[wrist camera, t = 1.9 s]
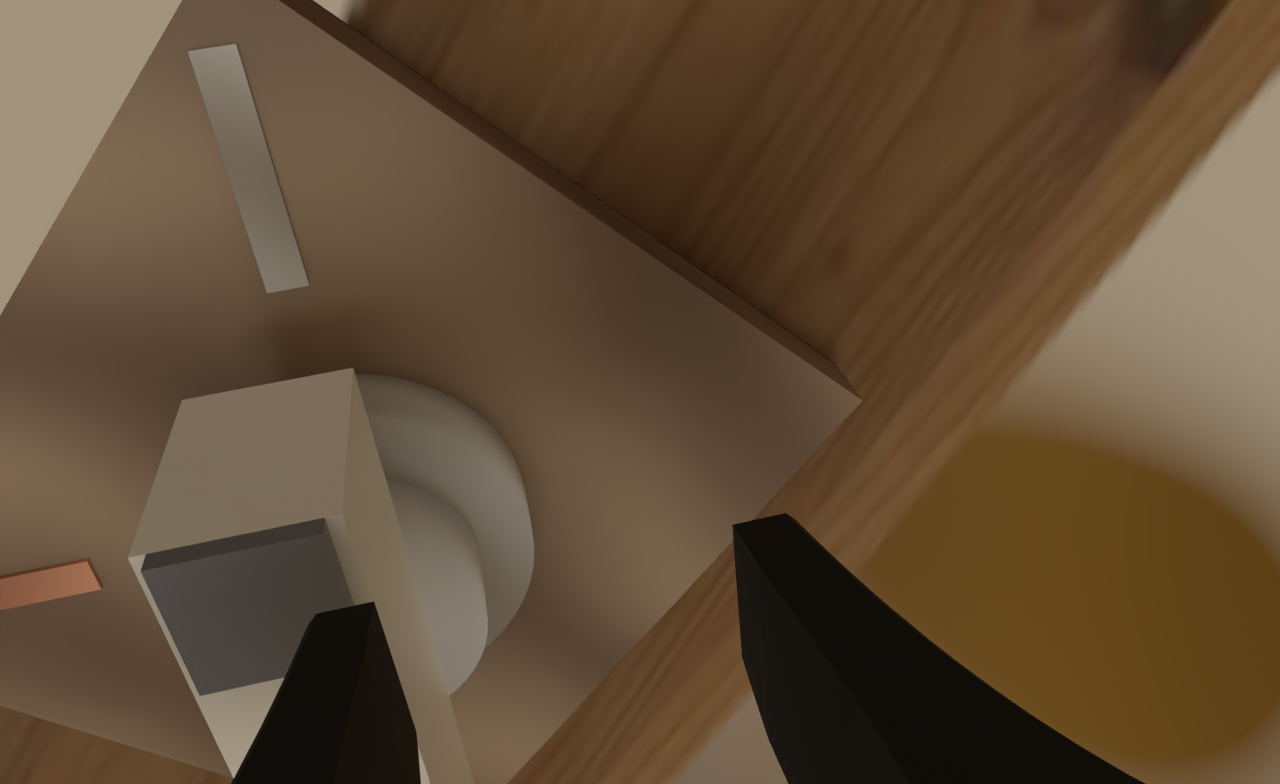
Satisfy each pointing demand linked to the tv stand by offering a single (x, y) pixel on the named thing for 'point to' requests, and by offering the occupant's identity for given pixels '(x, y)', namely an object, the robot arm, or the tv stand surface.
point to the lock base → (373, 371)
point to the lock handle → (304, 558)
